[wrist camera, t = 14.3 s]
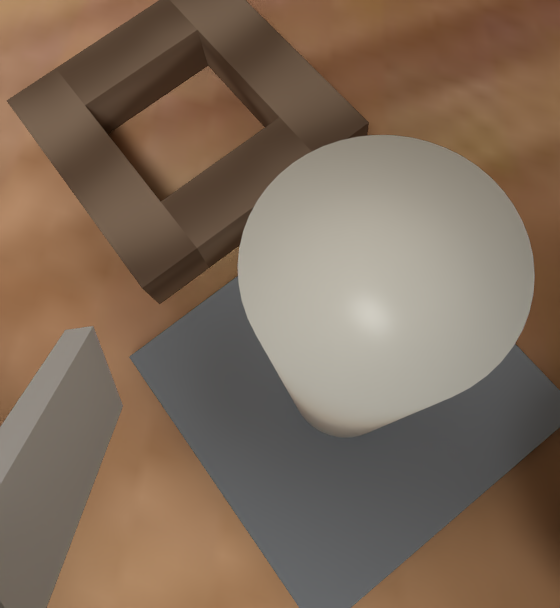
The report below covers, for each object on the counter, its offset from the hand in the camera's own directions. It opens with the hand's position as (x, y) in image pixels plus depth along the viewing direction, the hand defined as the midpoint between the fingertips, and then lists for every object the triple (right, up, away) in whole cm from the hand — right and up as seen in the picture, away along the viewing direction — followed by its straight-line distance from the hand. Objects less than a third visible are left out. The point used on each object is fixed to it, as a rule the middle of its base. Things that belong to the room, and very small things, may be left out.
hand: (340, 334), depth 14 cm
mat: (+1, -3, +9) cm, 10 cm away
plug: (+1, -3, +9) cm, 9 cm away
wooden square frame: (-6, +10, +13) cm, 18 cm away
